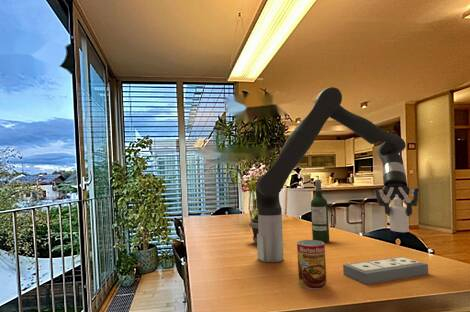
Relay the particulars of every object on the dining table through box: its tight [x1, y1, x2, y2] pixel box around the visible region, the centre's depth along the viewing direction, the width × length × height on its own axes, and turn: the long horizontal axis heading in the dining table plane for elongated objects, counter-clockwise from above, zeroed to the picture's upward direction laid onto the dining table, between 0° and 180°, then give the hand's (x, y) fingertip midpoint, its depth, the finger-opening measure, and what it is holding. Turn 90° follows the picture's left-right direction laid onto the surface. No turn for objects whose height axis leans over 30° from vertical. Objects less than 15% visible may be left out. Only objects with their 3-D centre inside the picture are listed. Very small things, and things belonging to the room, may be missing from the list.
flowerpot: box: [248, 212, 259, 245], centre depth 147 cm, size 14×15×20 cm
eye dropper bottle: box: [388, 195, 410, 233], centre depth 100 cm, size 4×6×12 cm
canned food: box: [296, 239, 328, 290], centre depth 89 cm, size 8×8×12 cm
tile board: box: [342, 256, 429, 285], centre depth 96 cm, size 24×10×3 cm, turn 108°
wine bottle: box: [310, 179, 330, 244], centre depth 148 cm, size 8×8×30 cm
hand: (398, 214), depth 99 cm, fingers closed on eye dropper bottle, 5 cm apart
